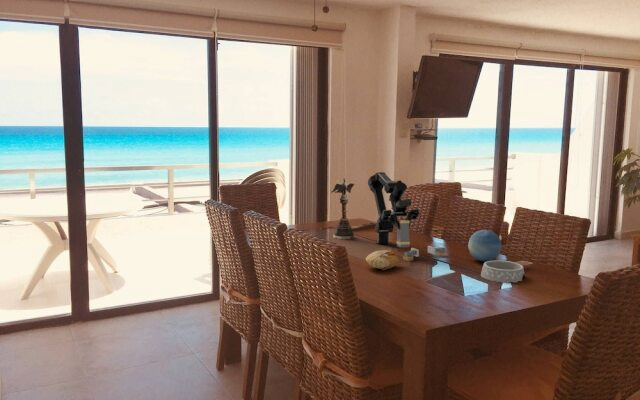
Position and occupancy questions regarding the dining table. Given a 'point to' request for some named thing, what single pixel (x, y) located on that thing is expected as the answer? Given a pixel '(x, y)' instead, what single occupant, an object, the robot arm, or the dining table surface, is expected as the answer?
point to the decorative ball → (484, 245)
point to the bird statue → (343, 211)
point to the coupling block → (403, 234)
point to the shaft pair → (432, 250)
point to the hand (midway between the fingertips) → (404, 228)
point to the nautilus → (384, 259)
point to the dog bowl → (502, 271)
